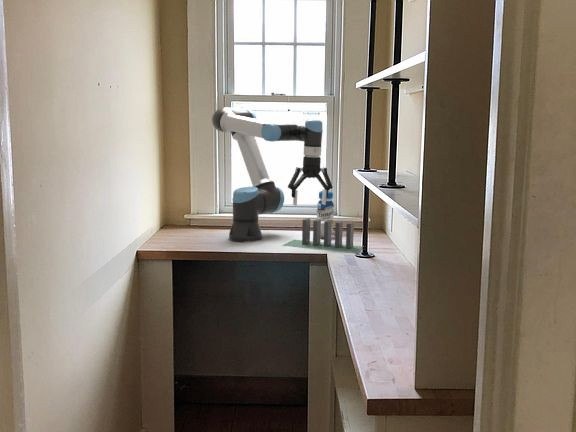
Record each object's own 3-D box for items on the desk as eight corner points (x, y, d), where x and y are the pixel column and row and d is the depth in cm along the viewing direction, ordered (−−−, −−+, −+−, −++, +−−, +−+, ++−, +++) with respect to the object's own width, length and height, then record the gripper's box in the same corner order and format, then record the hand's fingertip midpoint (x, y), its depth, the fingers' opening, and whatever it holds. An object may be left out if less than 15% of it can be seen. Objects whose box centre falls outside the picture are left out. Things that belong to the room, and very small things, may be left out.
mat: (281, 246, 258) (281, 245, 258) (293, 240, 271) (293, 239, 271) (357, 254, 246) (357, 253, 246) (366, 247, 259) (366, 246, 259)
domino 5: (345, 248, 254) (346, 223, 252) (349, 246, 259) (349, 221, 257) (349, 249, 253) (350, 224, 251) (353, 247, 258) (354, 222, 256)
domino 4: (334, 247, 256) (335, 222, 254) (338, 245, 260) (338, 220, 258) (338, 248, 255) (339, 223, 253) (342, 245, 260) (342, 221, 258)
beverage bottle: (332, 230, 295) (333, 190, 292) (334, 234, 287) (335, 193, 283) (315, 230, 294) (316, 190, 291) (317, 234, 286) (318, 193, 283)
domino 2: (312, 245, 259) (313, 220, 258) (316, 243, 264) (317, 218, 262) (316, 245, 259) (317, 221, 257) (320, 243, 263) (321, 219, 261)
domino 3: (323, 246, 258) (324, 221, 256) (327, 244, 262) (327, 219, 260) (327, 247, 257) (328, 222, 255) (331, 244, 262) (331, 220, 260)
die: (336, 238, 279) (328, 221, 283) (336, 233, 271) (328, 214, 274) (320, 245, 279) (312, 227, 282) (319, 239, 271) (312, 221, 274)
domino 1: (302, 244, 261) (302, 219, 259) (305, 242, 266) (306, 218, 264) (305, 244, 261) (306, 220, 259) (309, 242, 265) (310, 218, 263)
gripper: (287, 157, 248) (285, 206, 253) (342, 157, 257) (338, 205, 261) (282, 155, 255) (279, 203, 259) (334, 155, 264) (331, 202, 268)
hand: (309, 204), depth 260 cm, fingers open, 13 cm apart
